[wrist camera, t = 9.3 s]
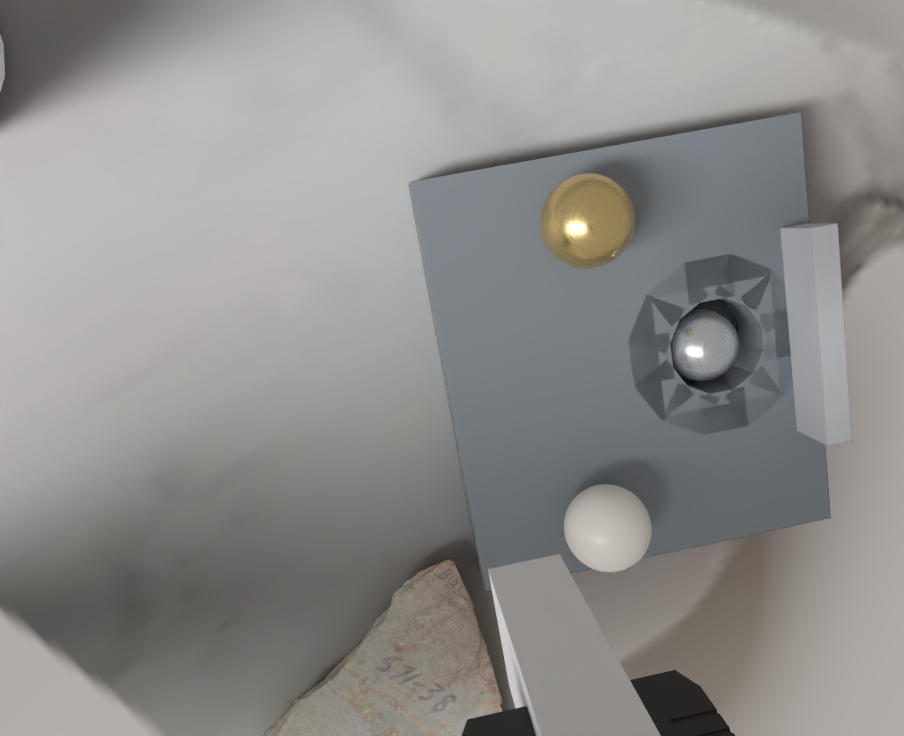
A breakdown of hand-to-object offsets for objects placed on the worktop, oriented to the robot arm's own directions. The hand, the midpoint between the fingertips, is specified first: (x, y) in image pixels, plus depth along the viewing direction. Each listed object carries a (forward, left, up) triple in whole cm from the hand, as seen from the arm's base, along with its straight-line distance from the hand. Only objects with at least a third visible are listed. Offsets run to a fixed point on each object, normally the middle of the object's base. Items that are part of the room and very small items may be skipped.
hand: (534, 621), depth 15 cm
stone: (-6, -16, -23) cm, 29 cm away
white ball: (+6, -7, -17) cm, 20 cm away
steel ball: (+13, 0, -20) cm, 24 cm away
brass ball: (+7, +7, -17) cm, 20 cm away
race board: (+9, 0, -22) cm, 24 cm away
